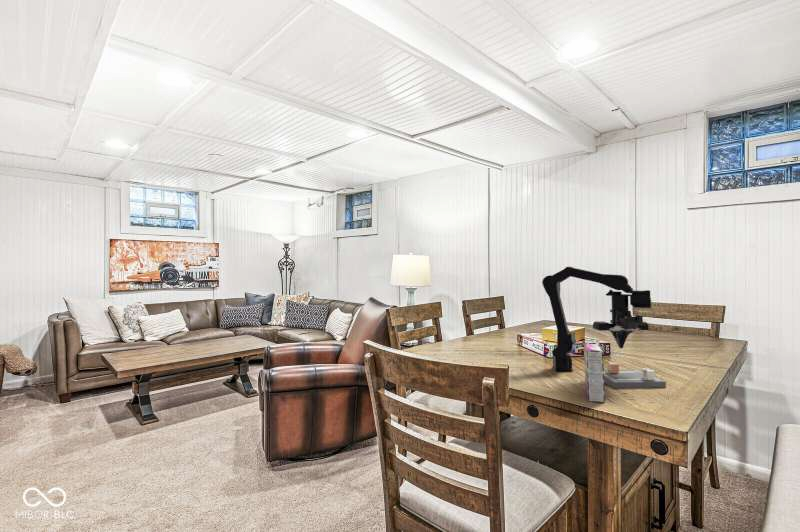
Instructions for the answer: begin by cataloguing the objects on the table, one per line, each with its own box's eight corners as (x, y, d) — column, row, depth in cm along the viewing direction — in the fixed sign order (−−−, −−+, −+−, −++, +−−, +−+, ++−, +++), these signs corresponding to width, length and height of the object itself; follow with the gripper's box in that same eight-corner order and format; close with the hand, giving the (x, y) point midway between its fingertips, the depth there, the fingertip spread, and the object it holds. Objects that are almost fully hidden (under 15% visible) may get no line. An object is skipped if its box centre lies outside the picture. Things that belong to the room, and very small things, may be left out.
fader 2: (648, 380, 140) (647, 370, 140) (642, 377, 144) (641, 368, 144) (655, 380, 140) (654, 370, 140) (649, 377, 144) (648, 368, 144)
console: (614, 388, 139) (613, 382, 139) (592, 376, 155) (592, 370, 155) (666, 387, 139) (666, 381, 139) (639, 375, 155) (639, 369, 155)
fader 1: (612, 373, 150) (612, 364, 151) (607, 370, 154) (607, 362, 154) (619, 373, 150) (618, 364, 150) (614, 370, 154) (613, 362, 154)
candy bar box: (584, 391, 137) (583, 343, 137) (600, 392, 135) (599, 344, 135) (587, 401, 126) (586, 349, 126) (605, 403, 124) (604, 350, 125)
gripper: (605, 310, 146) (606, 352, 146) (657, 309, 145) (658, 352, 145) (591, 307, 157) (592, 346, 157) (639, 306, 157) (640, 346, 156)
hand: (620, 348), depth 154 cm, fingers closed
